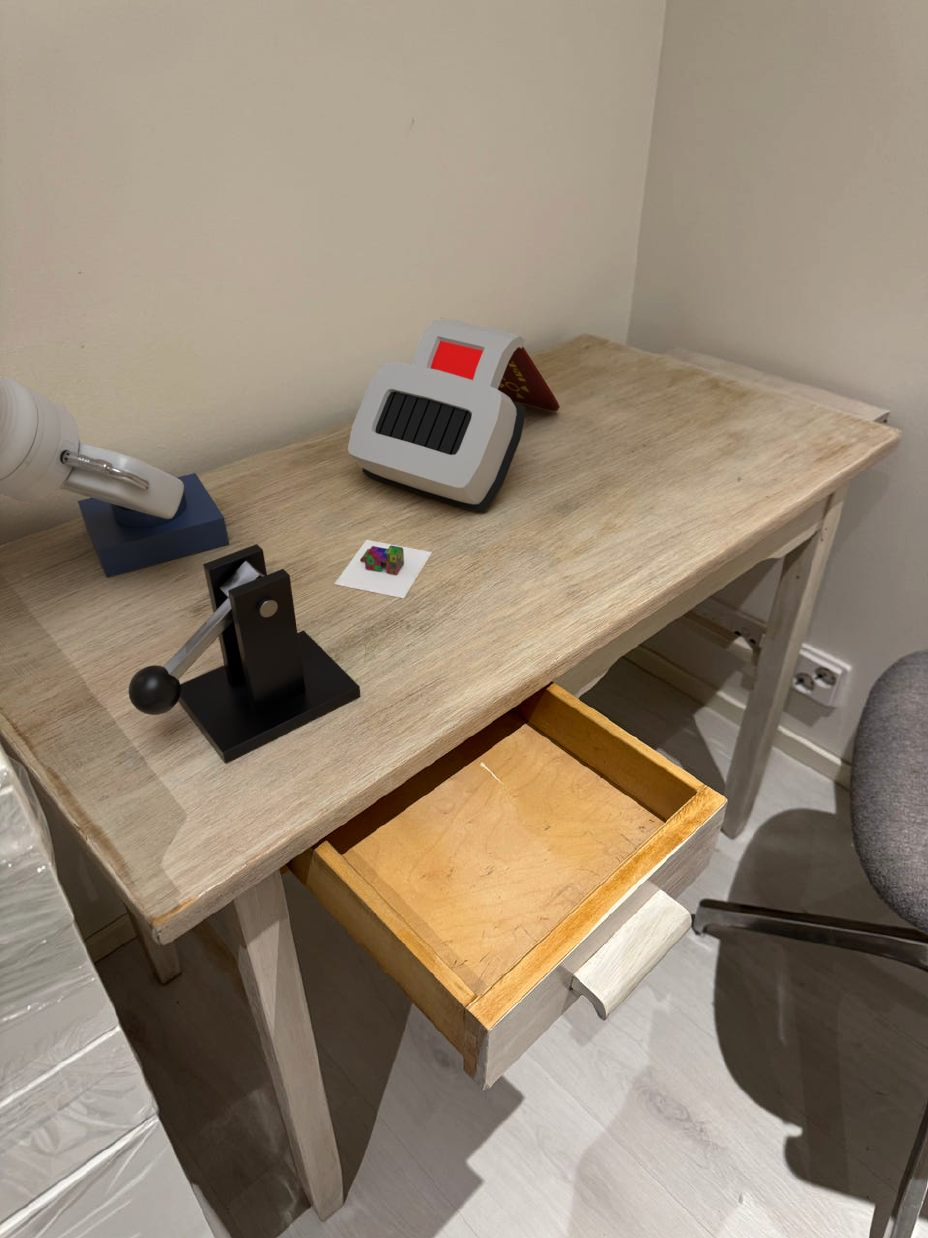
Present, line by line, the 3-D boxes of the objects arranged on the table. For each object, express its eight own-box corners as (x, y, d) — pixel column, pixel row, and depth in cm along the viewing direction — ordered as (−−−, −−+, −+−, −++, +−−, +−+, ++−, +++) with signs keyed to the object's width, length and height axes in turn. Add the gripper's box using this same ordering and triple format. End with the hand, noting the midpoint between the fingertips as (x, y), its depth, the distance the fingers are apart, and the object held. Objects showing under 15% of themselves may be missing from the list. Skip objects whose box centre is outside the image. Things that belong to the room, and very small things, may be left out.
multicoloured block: (407, 558, 88) (406, 538, 86) (396, 574, 86) (395, 554, 84) (367, 551, 89) (366, 530, 87) (356, 566, 87) (354, 546, 85)
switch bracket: (225, 764, 67) (195, 632, 59) (175, 697, 72) (141, 569, 64) (360, 696, 73) (349, 568, 65) (305, 640, 78) (288, 515, 70)
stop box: (106, 577, 85) (93, 533, 82) (85, 527, 92) (72, 485, 89) (229, 544, 90) (221, 501, 86) (200, 498, 96) (192, 457, 93)
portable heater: (396, 287, 95) (540, 318, 89) (475, 383, 118) (594, 414, 112) (329, 456, 95) (469, 500, 88) (422, 520, 118) (538, 558, 111)
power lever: (164, 731, 65) (129, 713, 62) (145, 704, 67) (110, 685, 64) (288, 598, 66) (259, 574, 63) (265, 575, 68) (236, 551, 65)
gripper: (132, 432, 70) (229, 487, 83) (-52, 386, 77) (64, 444, 90) (105, 508, 69) (207, 551, 82) (-78, 455, 76) (42, 503, 89)
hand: (131, 495), depth 86 cm, fingers closed, pressing on stop box, stop button
